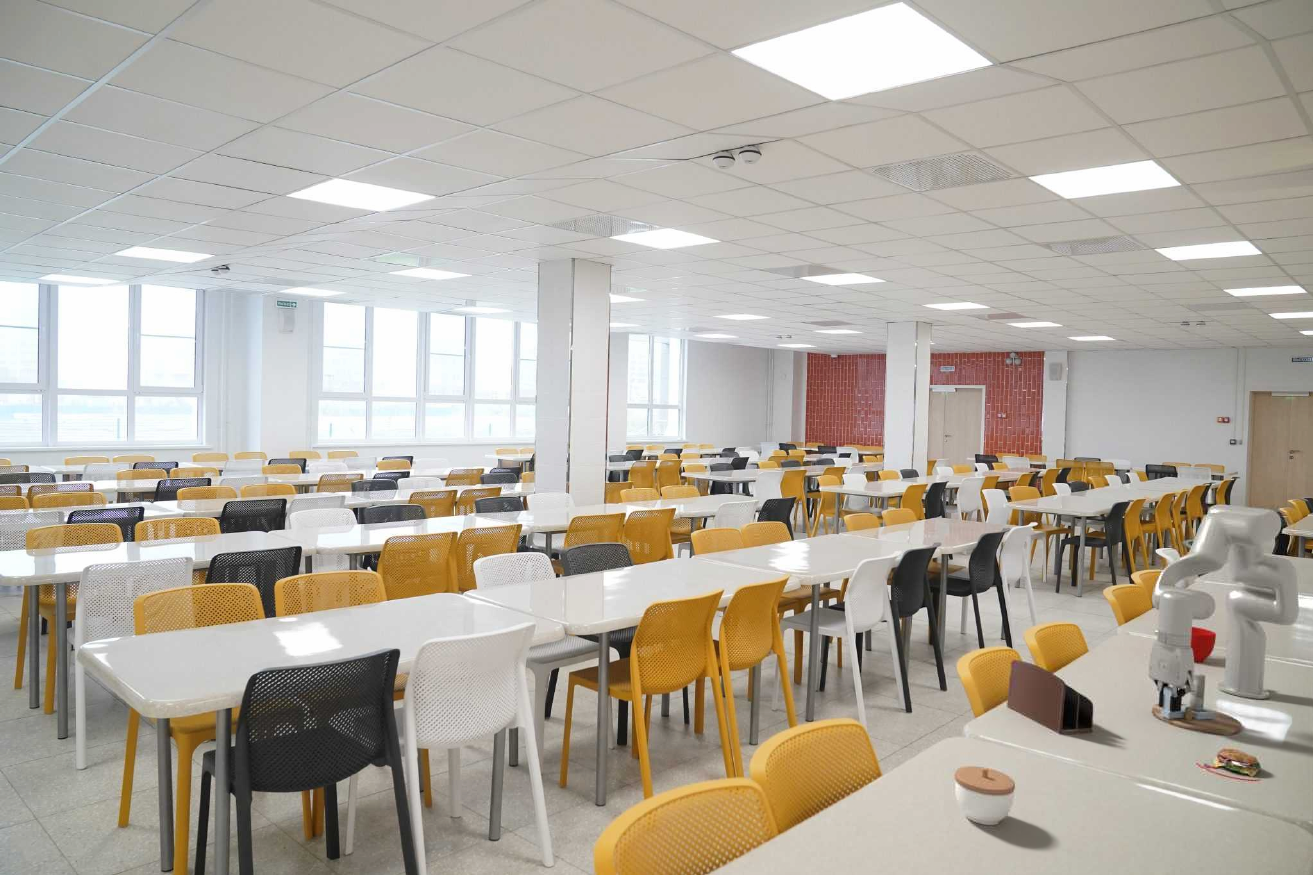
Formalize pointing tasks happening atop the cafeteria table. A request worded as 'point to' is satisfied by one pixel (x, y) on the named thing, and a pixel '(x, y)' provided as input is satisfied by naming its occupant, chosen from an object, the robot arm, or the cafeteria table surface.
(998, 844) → the cafeteria table surface
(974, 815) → the lidded jar
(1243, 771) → the hamburger
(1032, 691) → the letter holder
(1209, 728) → the post base
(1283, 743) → the cafeteria table surface
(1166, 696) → the blue square ring handle
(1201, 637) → the red bowl
